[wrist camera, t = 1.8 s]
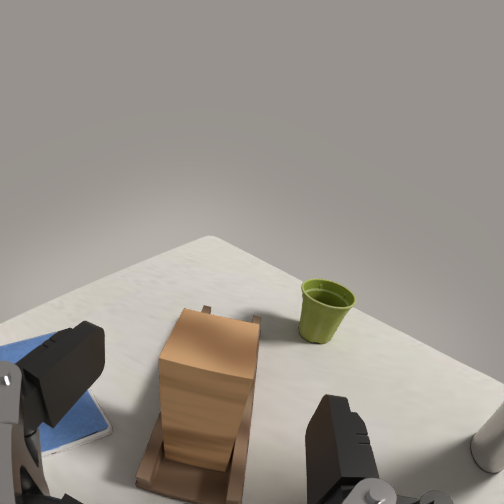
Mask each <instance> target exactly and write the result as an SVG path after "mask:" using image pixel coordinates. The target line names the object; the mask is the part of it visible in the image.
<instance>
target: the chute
mask: <svg viewBox="0 0 504 504" xmlns="http://www.w3.org/2000/svg"><path fill="white" fill-rule="evenodd" d="M201 312H202V313H207V314H210V313H211V307H209V306H205V305H204V306H203V309H202V311H201ZM252 323H255V324H259V331H258V340H257V349H256V359H255V368H254V377H253V382H252V385H251V389H250V392H249V396H248V399H247V402H246V406H245V409H244V413H243V416H242V419H241V423H240V426H239V429H238V432H237V436H236V439H235V442H234V445H233V448H232V452H231V455H230V458H229V461H228V464H227V467H226V470H225V472H222V471H217V470H212V469H207V468H202V467H198V466H193V465H189V464H185V463H181V462H177V461H173V460H170V459H166V458H165V451H164V441H163V430H162V418H161V412H160V414H159V417H158V419H157V422H156V424H155V427H154V430H153V432H152V435H151V437H150V440H149V443H148V445H147V448H146V451H145V453H144V456H143V458H142V461H141V464H140V466H139V469H138V472H137V474H136V478H137V480H136V483H135V484H136V487H139V488H142V489H145V490H148V491H151V492H154V493H157V494H161V495H164V496H168V497H171V498H175V499H179V500H183V501H187V502H192V503H196V504H241V503H242V495H243V487H244V478H245V470H246V462H247V453H248V444H249V435H250V426H251V417H252V408H253V399H254V389H255V379H256V370H257V360H258V350H259V339H260V323H261V317H258V316H253V320H252Z"/></svg>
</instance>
